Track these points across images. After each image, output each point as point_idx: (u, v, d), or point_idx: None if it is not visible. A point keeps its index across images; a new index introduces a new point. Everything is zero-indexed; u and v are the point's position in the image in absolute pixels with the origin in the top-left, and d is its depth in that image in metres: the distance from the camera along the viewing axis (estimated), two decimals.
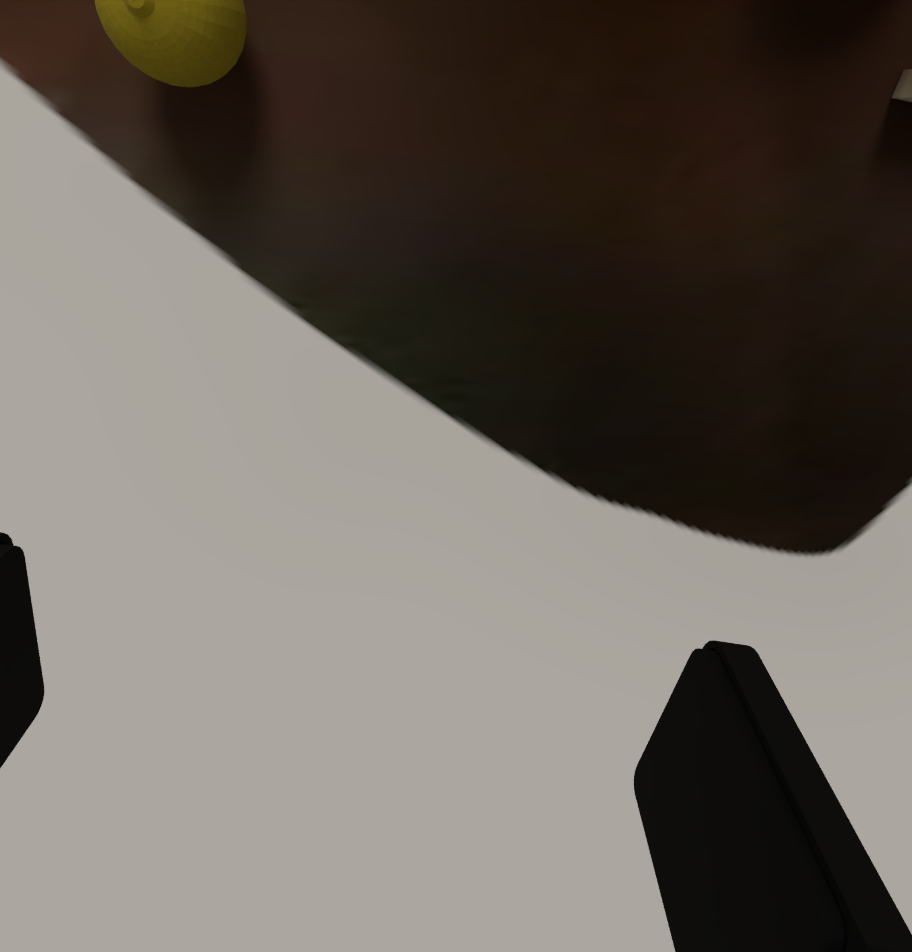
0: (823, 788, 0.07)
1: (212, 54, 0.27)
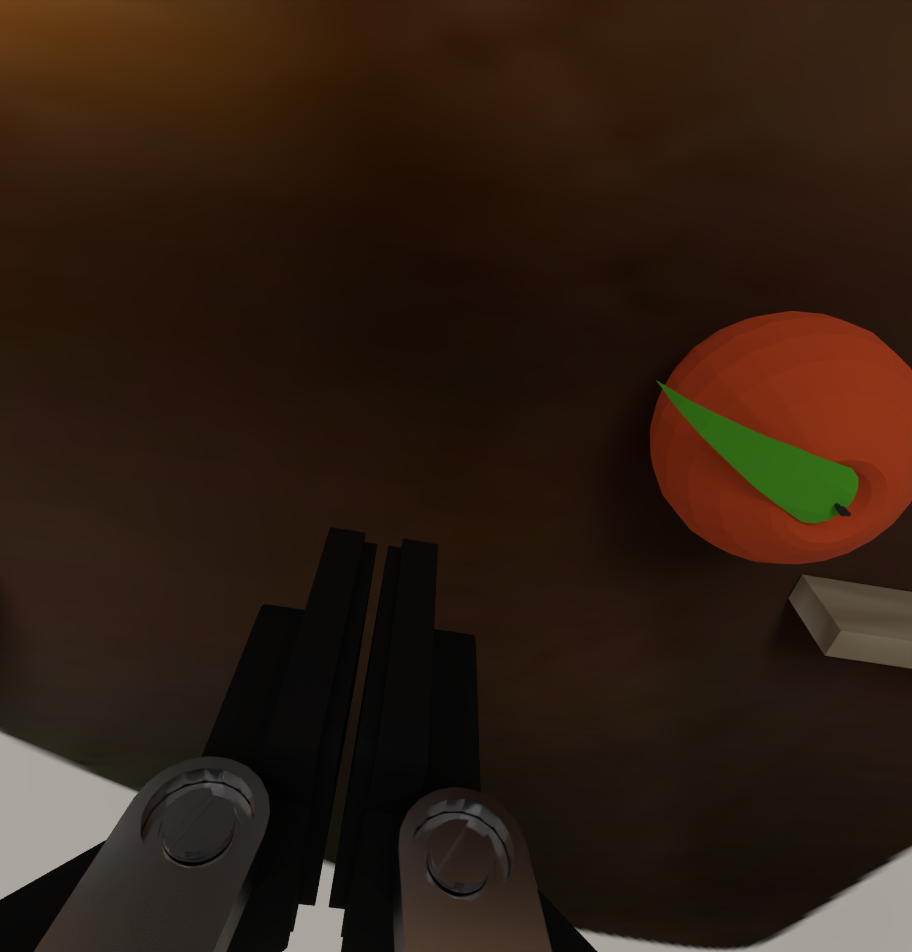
0: (422, 647, 0.08)
1: None
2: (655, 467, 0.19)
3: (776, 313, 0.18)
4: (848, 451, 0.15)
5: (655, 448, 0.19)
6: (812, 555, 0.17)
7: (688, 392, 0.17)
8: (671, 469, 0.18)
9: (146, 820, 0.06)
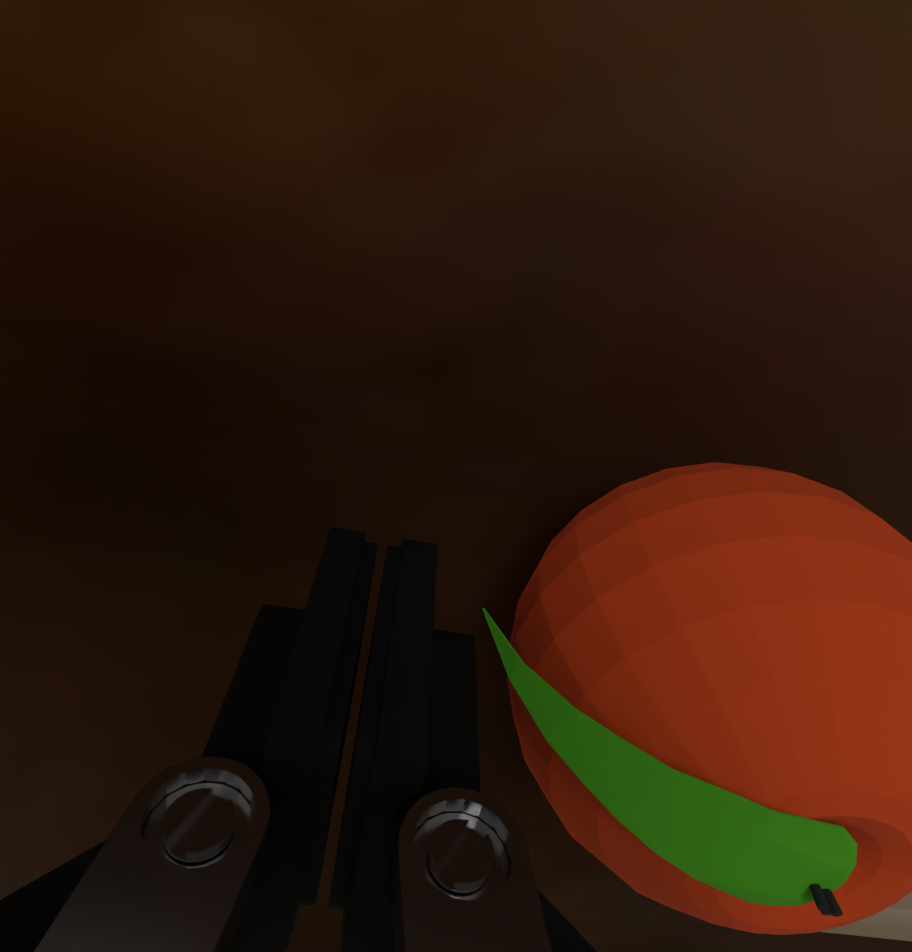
0: (422, 647, 0.08)
1: None
2: (513, 714, 0.11)
3: (711, 471, 0.10)
4: (837, 800, 0.07)
5: (509, 688, 0.11)
6: None
7: (550, 618, 0.10)
8: (526, 742, 0.10)
9: (146, 820, 0.06)
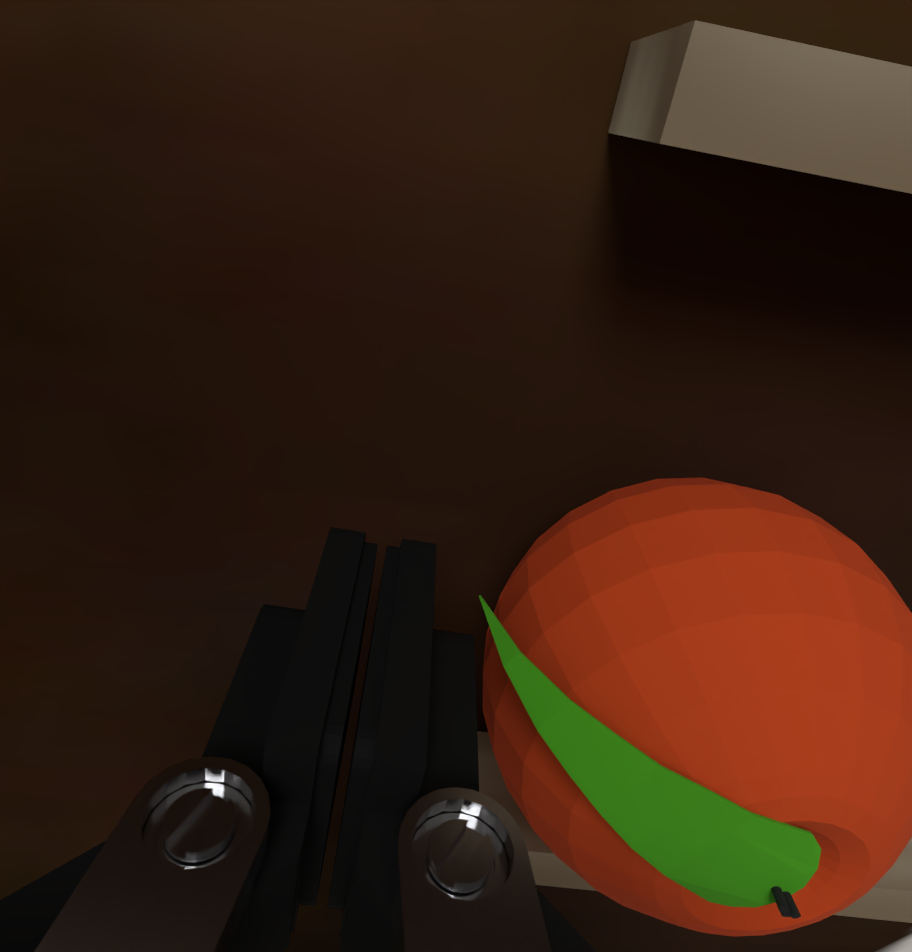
0: (421, 647, 0.08)
1: None
2: (484, 707, 0.11)
3: (704, 485, 0.10)
4: (810, 807, 0.08)
5: (484, 681, 0.11)
6: None
7: (540, 613, 0.10)
8: (499, 734, 0.10)
9: (146, 820, 0.06)
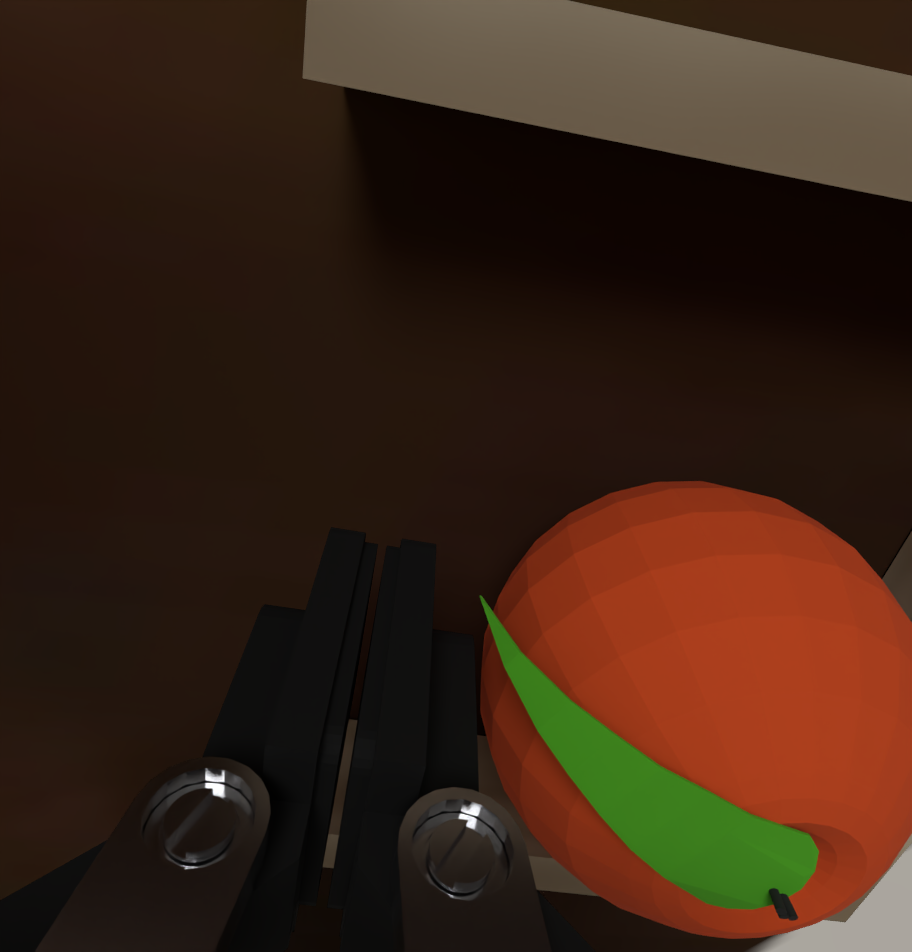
0: (421, 647, 0.08)
1: None
2: (481, 708, 0.11)
3: (704, 488, 0.10)
4: (808, 807, 0.08)
5: (482, 681, 0.11)
6: None
7: (541, 613, 0.10)
8: (498, 735, 0.10)
9: (147, 820, 0.06)
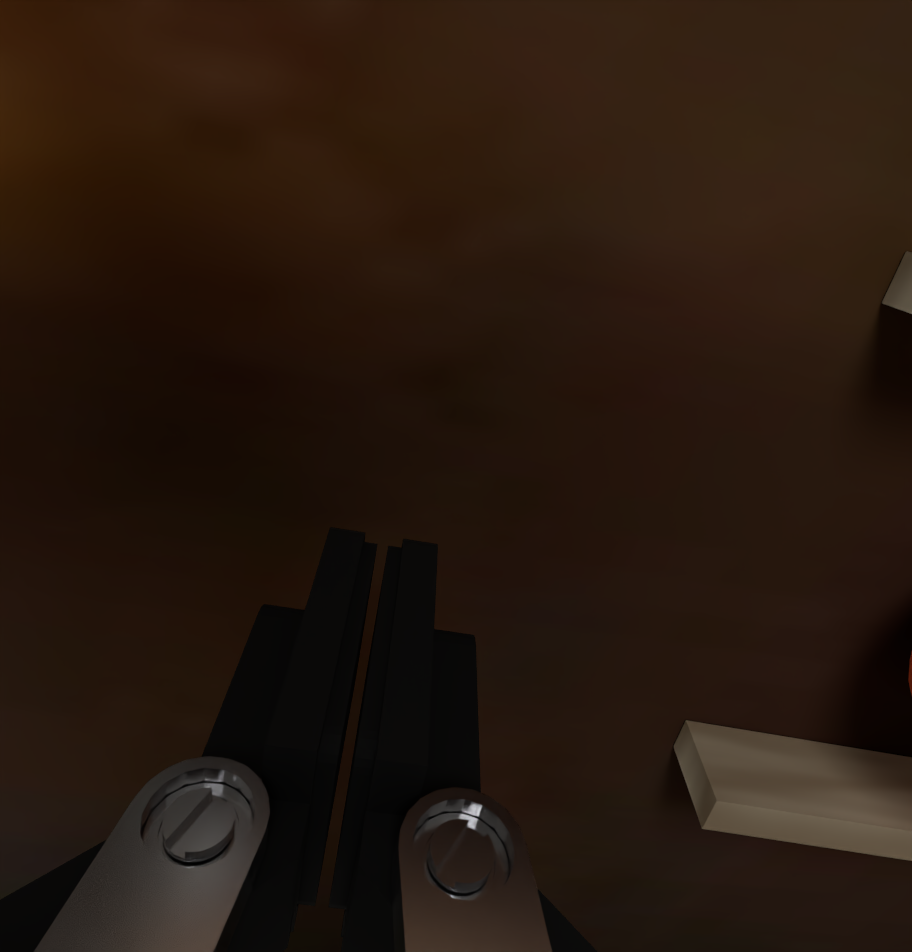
0: (423, 647, 0.08)
1: None
2: None
3: None
4: None
5: None
6: None
7: None
8: None
9: (146, 820, 0.06)
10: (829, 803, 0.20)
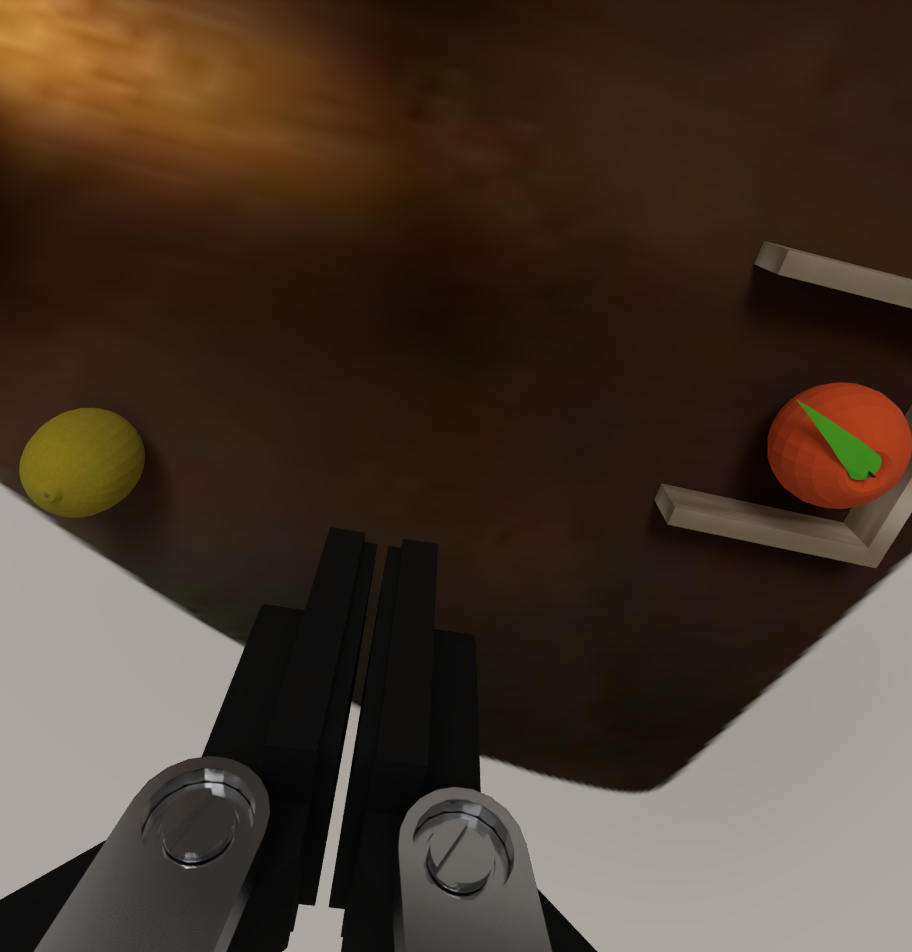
0: (423, 647, 0.08)
1: (111, 504, 0.36)
2: (774, 446, 0.37)
3: (849, 383, 0.36)
4: (880, 447, 0.33)
5: (778, 436, 0.36)
6: (849, 499, 0.35)
7: None
8: (787, 446, 0.36)
9: (146, 820, 0.06)
10: (730, 515, 0.40)
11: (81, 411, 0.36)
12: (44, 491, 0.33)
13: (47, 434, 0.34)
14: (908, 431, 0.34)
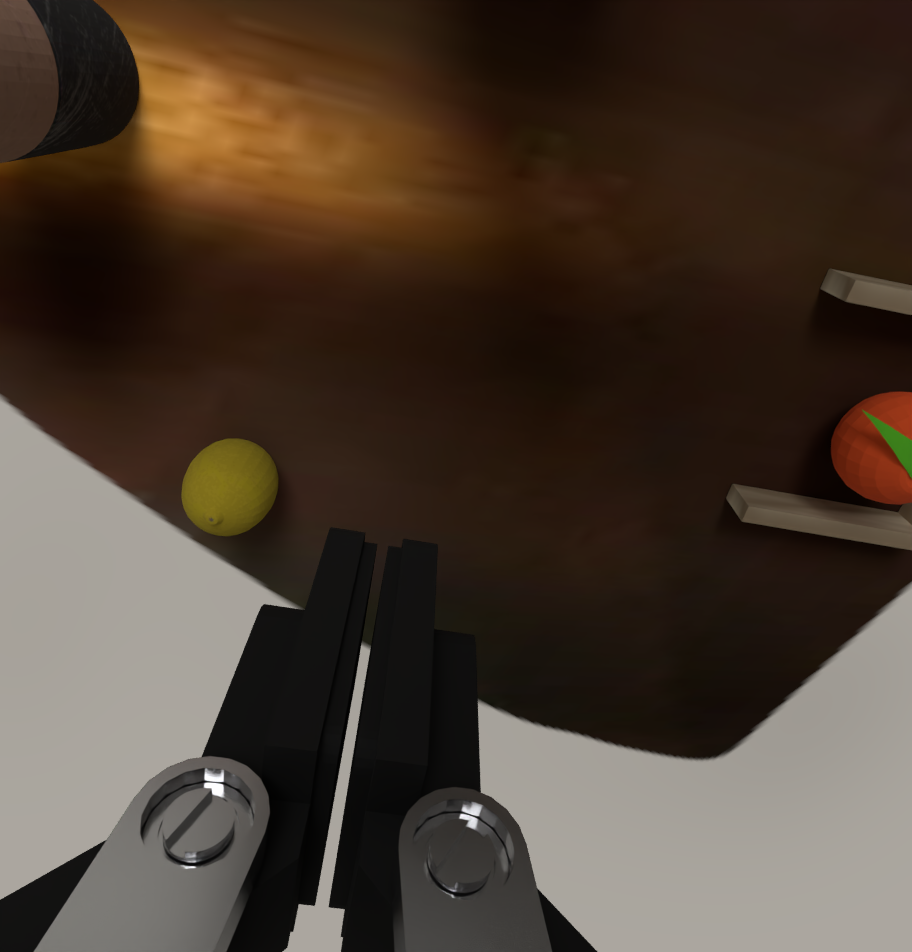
0: (422, 647, 0.08)
1: (257, 523, 0.41)
2: (838, 450, 0.41)
3: (907, 392, 0.40)
4: None
5: (843, 440, 0.41)
6: (909, 496, 0.39)
7: (869, 417, 0.40)
8: (853, 450, 0.40)
9: (146, 820, 0.06)
10: (797, 510, 0.45)
11: (228, 443, 0.41)
12: (209, 515, 0.38)
13: (206, 465, 0.39)
14: None
